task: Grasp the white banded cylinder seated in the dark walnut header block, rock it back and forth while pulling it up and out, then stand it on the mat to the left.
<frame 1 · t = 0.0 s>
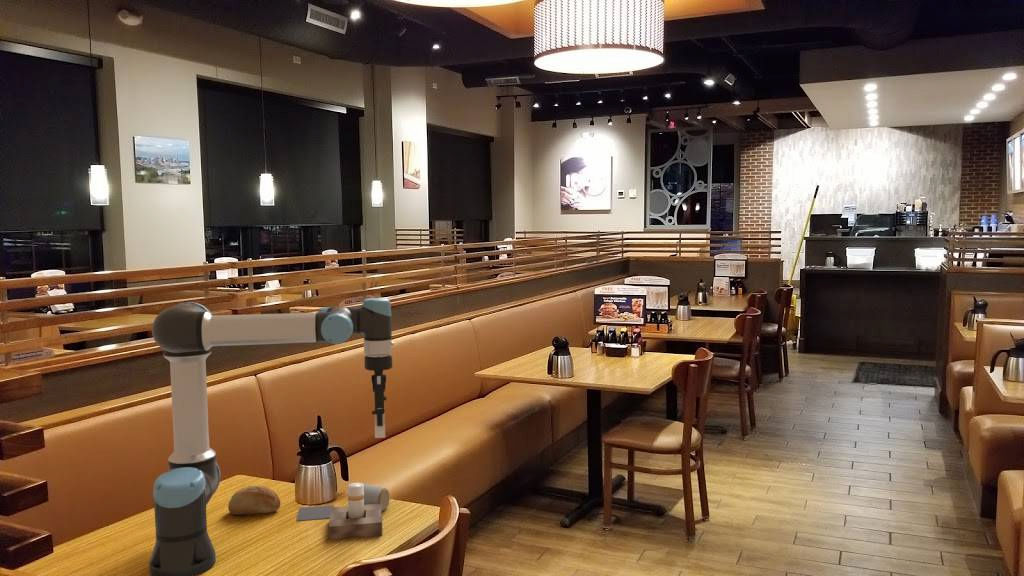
hand: (380, 430, 204), 28 cm above the table, fingers open, 13 cm apart
bread roll: (254, 513, 219), on the table
white banded cylinder: (356, 527, 207), resting on header
mat: (315, 514, 217), on the table
header: (356, 528, 207), on the table
ceramic mug: (374, 509, 221), on the table
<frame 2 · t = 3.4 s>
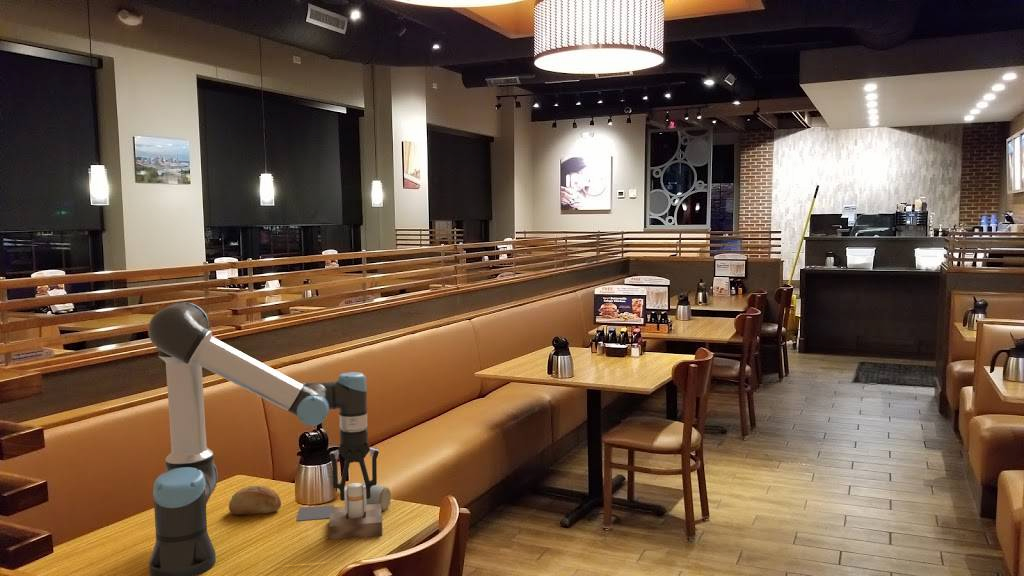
hand: (355, 510, 206), 5 cm above the table, fingers closed on white banded cylinder, 4 cm apart
white banded cylinder: (356, 527, 207), resting on header, touching gripper
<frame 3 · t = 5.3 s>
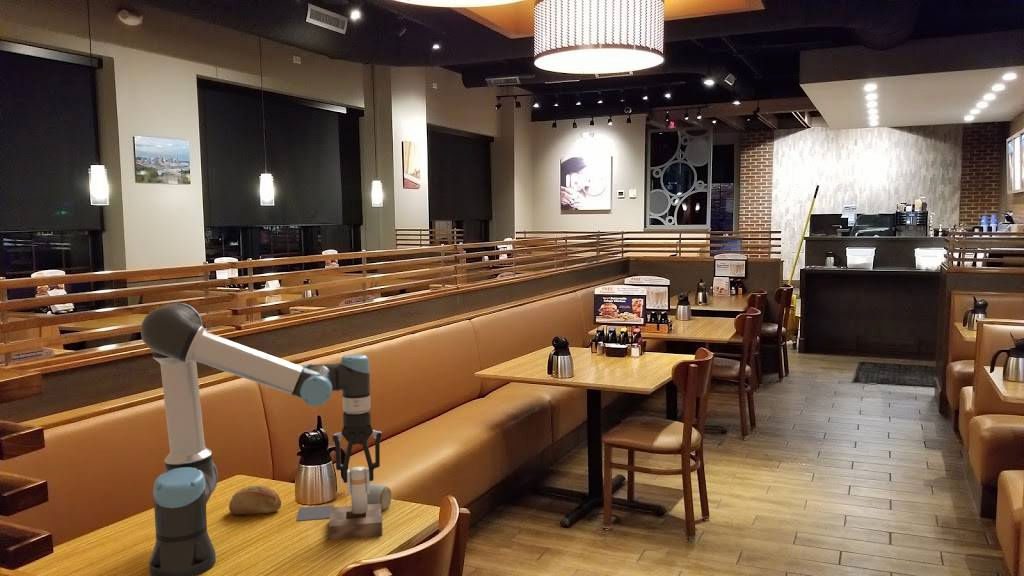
hand: (358, 492, 206), 10 cm above the table, fingers closed on white banded cylinder, 4 cm apart
white banded cylinder: (359, 510, 206), point 5 cm above the table, touching gripper
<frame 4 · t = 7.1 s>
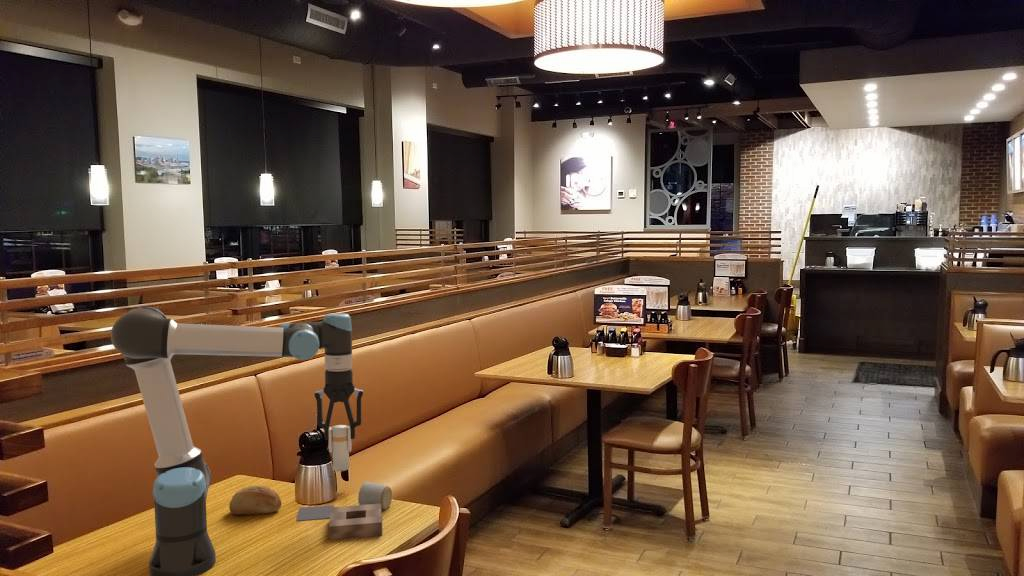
hand: (340, 450, 208), 21 cm above the table, fingers closed on white banded cylinder, 4 cm apart
white banded cylinder: (341, 468, 208), point 16 cm above the table, touching gripper
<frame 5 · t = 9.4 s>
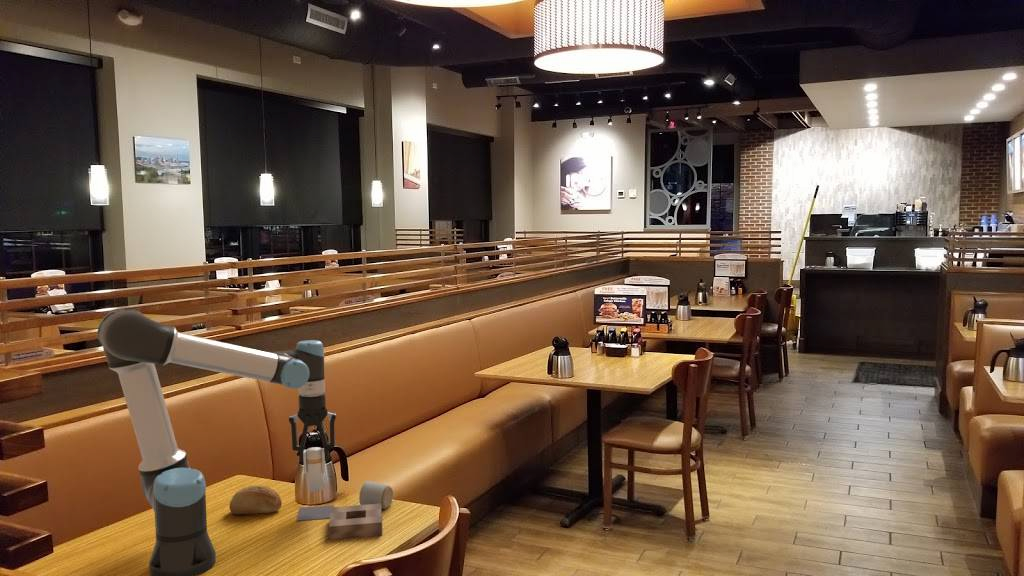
hand: (314, 472, 216), 13 cm above the table, fingers closed on white banded cylinder, 4 cm apart
white banded cylinder: (316, 489, 217), point 7 cm above the table, touching gripper
when the fingers open (7 cm above the table, at t = 11.2 s): white banded cylinder stays where it is, resting on mat.
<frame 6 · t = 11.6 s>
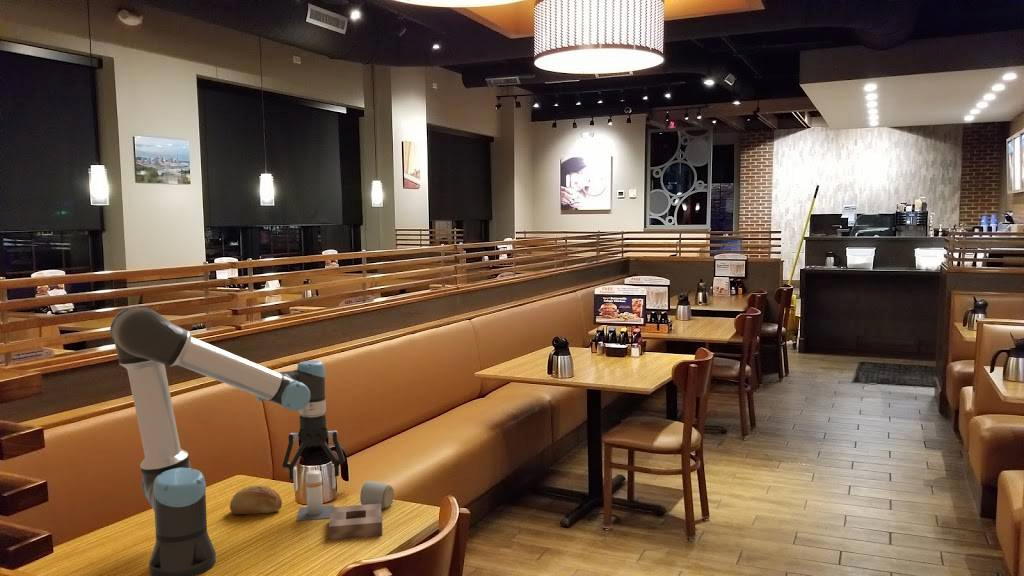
hand: (314, 488, 216), 8 cm above the table, fingers open, 10 cm apart
white banded cylinder: (315, 512, 217), point 1 cm above the table, touching mat
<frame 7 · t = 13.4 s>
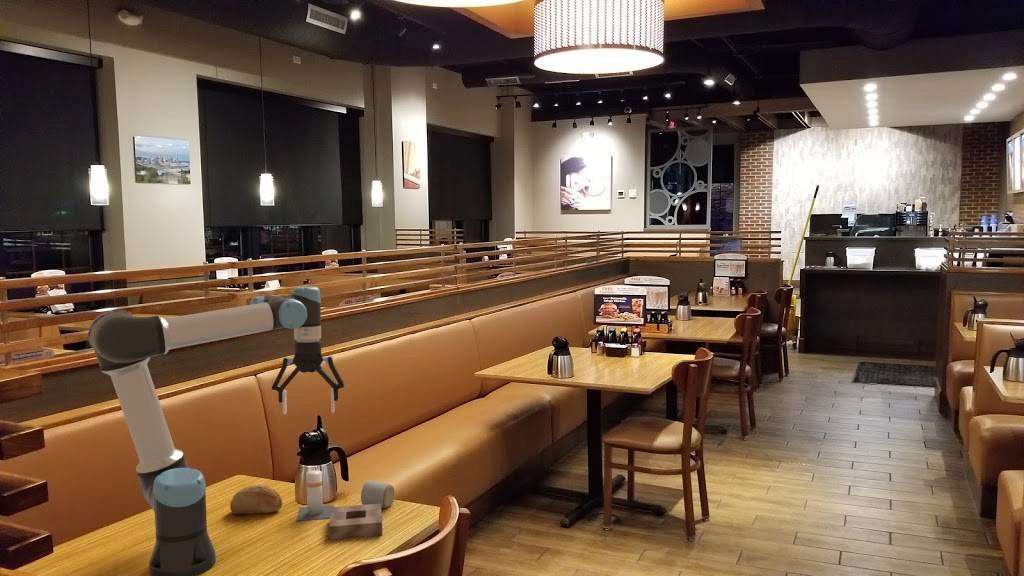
hand: (308, 412, 215), 30 cm above the table, fingers open, 13 cm apart
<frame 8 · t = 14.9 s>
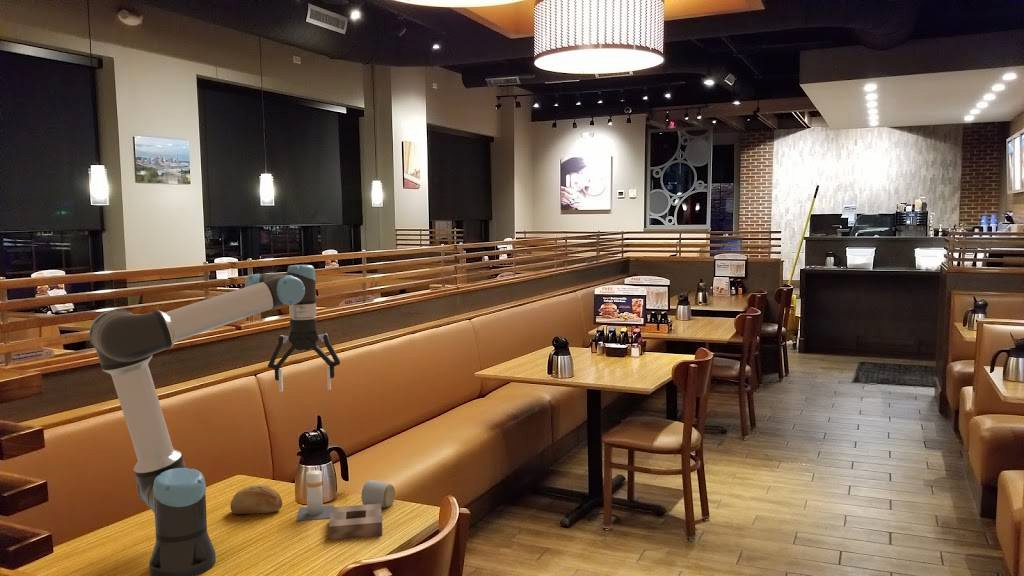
hand: (305, 390, 216), 37 cm above the table, fingers open, 13 cm apart
at the end: white banded cylinder inside the target area on the mat (0.1 cm from its centre), point 0.5 cm above the mat's base; white banded cylinder tilted 0°; white banded cylinder touching mat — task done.
